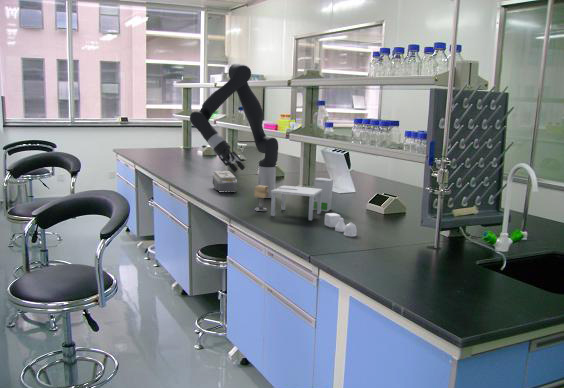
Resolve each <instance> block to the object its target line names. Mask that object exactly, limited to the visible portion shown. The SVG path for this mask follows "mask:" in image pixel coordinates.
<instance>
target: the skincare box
mask: <svg viewBox="0 0 564 388" xmlns="http://www.w3.org/2000/svg"><path fill="white" fill-rule="evenodd" d="M333 184H334V179H333V178H327V177H326V178H325V177H316V178H314V186H313V188H317V189H322V199H321V212H329V211H330V210H331V208H332V199H333V198H332V196H333ZM317 202H318V194H317V195H315V196H314V199H313V211H317Z"/></svg>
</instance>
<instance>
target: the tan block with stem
mask: <svg viewBox="0 0 564 388" xmlns="http://www.w3.org/2000/svg"><path fill="white" fill-rule="evenodd" d="M265 197H268V186H262V185H256V186H254V198H258V207H255V208H254V211H255V210H256V211H267V212H268V208H266V207H264V198H265ZM256 211H255V212H256Z"/></svg>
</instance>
